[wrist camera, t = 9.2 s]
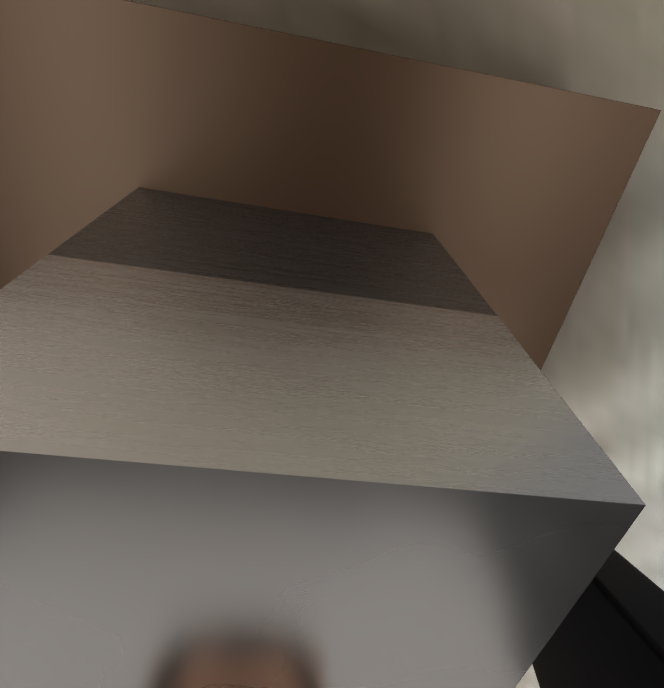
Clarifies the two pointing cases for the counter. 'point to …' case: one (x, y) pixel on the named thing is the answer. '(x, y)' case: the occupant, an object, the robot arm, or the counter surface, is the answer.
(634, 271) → the counter surface
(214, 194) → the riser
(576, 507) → the block
